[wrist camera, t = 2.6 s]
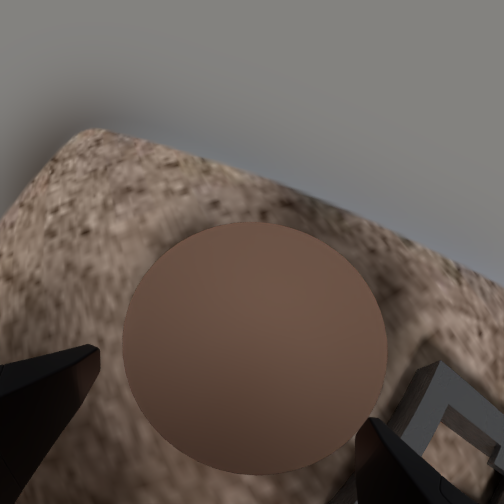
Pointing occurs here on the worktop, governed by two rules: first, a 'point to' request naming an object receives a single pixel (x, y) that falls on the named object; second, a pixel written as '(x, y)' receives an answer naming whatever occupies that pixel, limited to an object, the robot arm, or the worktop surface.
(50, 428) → the robot arm
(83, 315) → the worktop surface
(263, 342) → the peg
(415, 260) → the worktop surface
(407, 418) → the keyhole plate
